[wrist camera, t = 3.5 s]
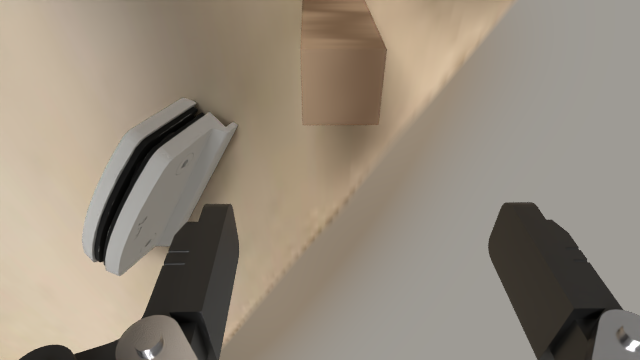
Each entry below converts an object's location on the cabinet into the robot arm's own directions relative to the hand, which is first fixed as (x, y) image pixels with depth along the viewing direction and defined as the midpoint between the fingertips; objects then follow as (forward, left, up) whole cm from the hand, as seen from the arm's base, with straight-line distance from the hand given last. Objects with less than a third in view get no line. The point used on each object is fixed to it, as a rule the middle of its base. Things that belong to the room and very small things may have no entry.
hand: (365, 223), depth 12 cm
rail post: (0, 0, -22) cm, 22 cm away
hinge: (-15, -14, -22) cm, 30 cm away
